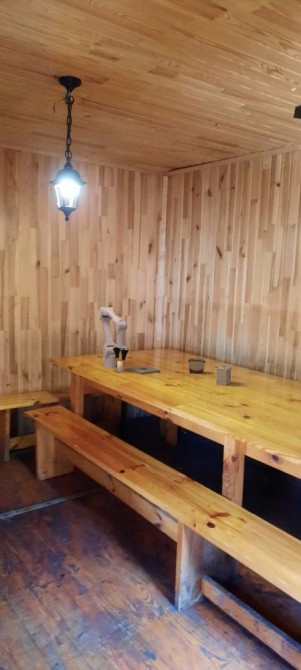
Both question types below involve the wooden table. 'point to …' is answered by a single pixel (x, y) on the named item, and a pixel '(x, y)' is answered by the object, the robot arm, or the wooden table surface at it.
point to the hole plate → (144, 370)
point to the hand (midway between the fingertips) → (120, 359)
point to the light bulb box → (223, 375)
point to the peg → (119, 366)
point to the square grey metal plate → (120, 372)
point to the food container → (196, 365)
